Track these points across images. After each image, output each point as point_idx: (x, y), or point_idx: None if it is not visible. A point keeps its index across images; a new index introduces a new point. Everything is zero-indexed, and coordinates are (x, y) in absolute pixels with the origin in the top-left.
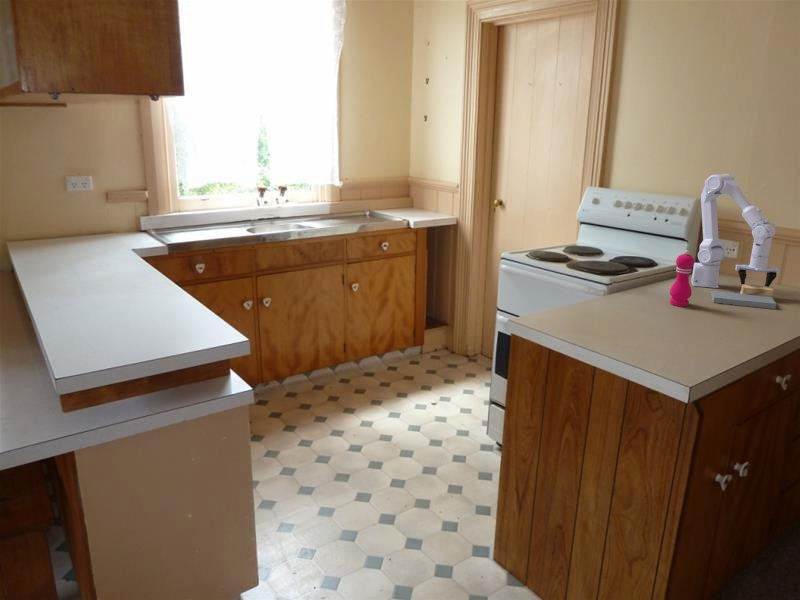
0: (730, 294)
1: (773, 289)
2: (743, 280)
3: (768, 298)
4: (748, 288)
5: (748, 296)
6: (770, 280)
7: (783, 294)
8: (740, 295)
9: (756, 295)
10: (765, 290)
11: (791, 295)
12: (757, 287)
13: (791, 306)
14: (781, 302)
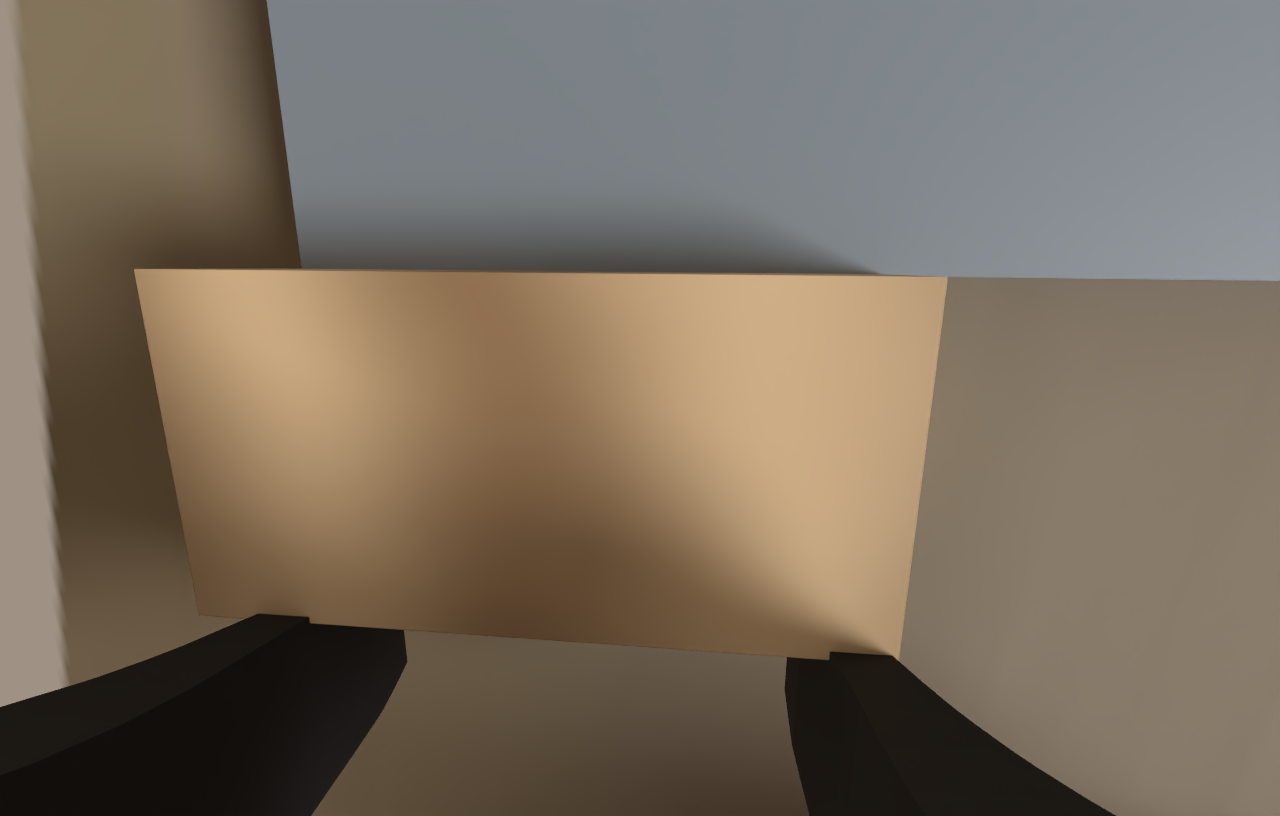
0: (1245, 62)
1: (153, 355)
2: (921, 729)
3: (361, 47)
4: (799, 275)
5: (796, 41)
6: (69, 710)
7: None
8: (987, 58)
9: (589, 235)
10: (356, 270)
11: None
12: (533, 427)
13: (48, 71)
14: None
